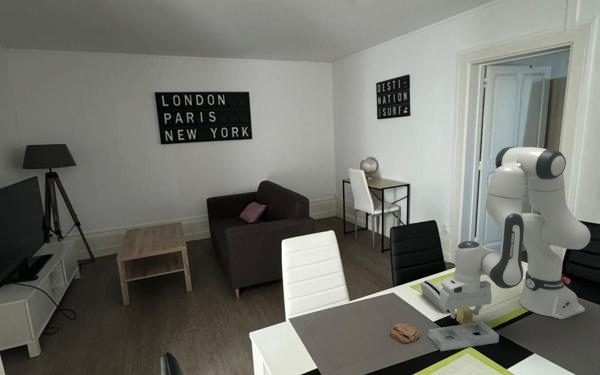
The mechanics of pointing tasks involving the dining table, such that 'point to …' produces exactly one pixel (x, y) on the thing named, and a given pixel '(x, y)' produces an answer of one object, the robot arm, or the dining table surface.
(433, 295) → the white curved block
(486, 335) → the grey shape sorter tray
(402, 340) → the cookie
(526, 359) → the dining table surface
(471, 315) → the wood grain block
